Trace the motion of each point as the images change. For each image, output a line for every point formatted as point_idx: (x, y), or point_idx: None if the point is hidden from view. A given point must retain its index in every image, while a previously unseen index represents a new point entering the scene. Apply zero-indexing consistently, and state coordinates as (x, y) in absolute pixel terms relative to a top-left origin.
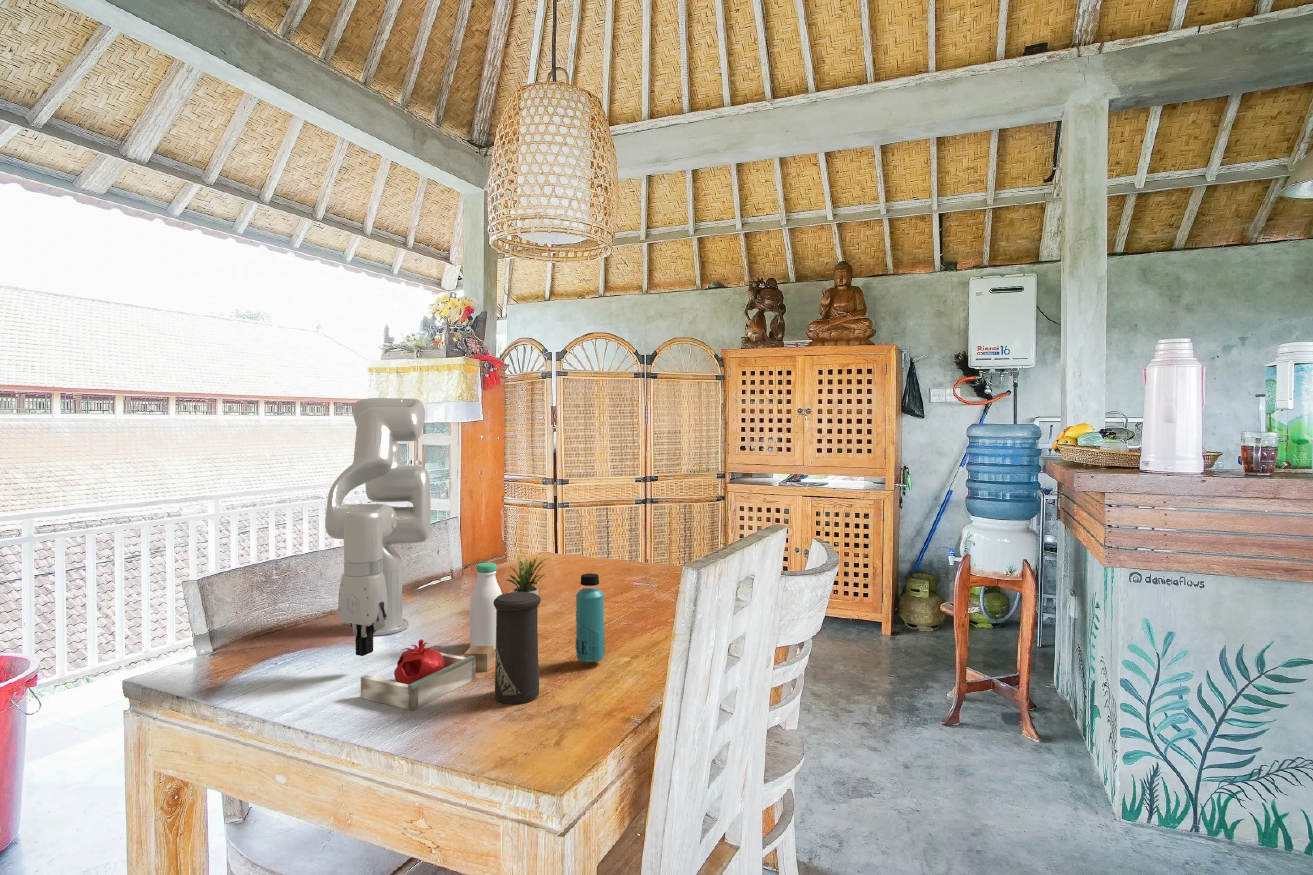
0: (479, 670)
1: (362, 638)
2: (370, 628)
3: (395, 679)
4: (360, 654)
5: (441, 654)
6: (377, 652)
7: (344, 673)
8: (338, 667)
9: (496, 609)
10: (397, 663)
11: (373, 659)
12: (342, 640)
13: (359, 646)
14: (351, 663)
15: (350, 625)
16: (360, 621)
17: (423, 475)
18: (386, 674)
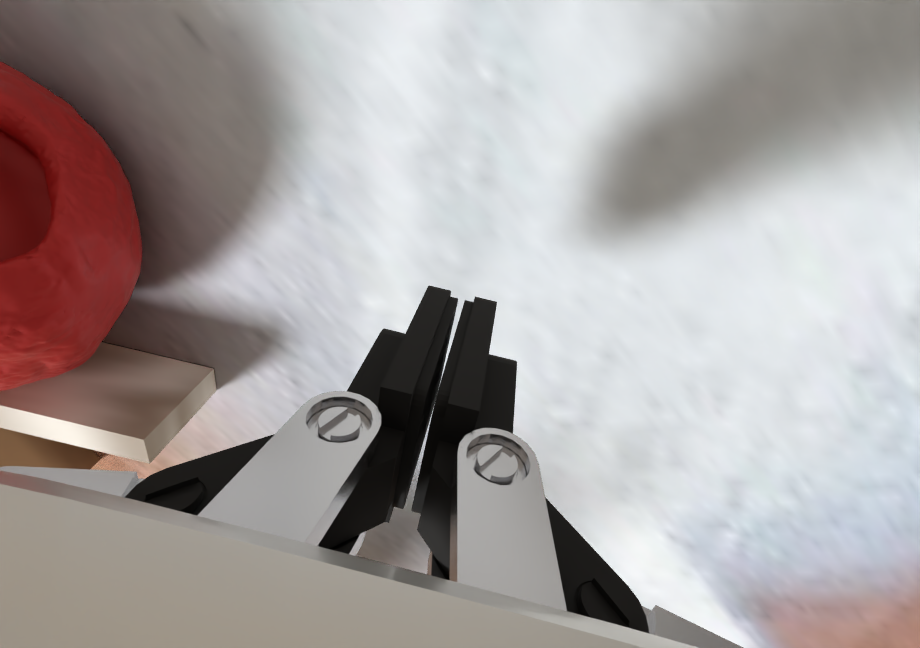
0: None
1: (384, 398)
2: (150, 488)
3: (41, 95)
4: (431, 288)
5: (5, 414)
6: (603, 527)
7: (614, 258)
8: (716, 339)
9: None
10: (58, 220)
11: (566, 457)
12: (884, 632)
13: (430, 330)
14: (663, 400)
15: (624, 592)
16: (7, 569)
17: None
18: (340, 289)
